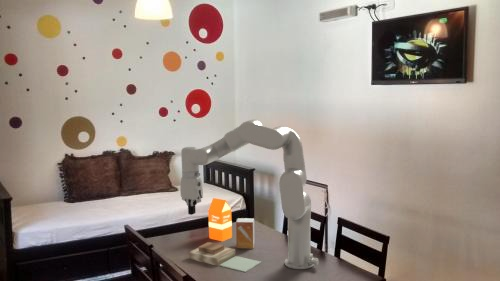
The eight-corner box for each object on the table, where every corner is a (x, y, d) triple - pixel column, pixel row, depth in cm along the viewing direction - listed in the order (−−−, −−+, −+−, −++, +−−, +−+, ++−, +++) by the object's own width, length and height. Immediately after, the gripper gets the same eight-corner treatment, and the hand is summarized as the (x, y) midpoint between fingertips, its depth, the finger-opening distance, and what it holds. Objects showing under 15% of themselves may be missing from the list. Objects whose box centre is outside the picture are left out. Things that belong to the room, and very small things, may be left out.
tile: (224, 249, 212) (224, 245, 211) (214, 254, 206) (214, 250, 206) (208, 246, 217) (208, 242, 216) (198, 251, 211) (198, 246, 211)
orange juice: (222, 241, 232) (221, 202, 229) (209, 238, 237) (207, 199, 234) (232, 237, 238) (231, 198, 235) (219, 233, 243) (217, 196, 241)
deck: (235, 256, 212) (235, 249, 212) (217, 265, 202) (217, 258, 201) (207, 249, 221) (207, 243, 221) (189, 258, 210) (189, 251, 210)
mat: (261, 262, 204) (261, 261, 204) (245, 272, 194) (245, 271, 194) (235, 256, 212) (235, 255, 212) (219, 265, 202) (219, 264, 202)
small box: (236, 248, 222) (235, 221, 220) (238, 244, 228) (237, 217, 226) (253, 248, 221) (253, 222, 219) (254, 244, 227) (254, 218, 225)
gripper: (208, 174, 212) (209, 214, 214) (183, 171, 220) (185, 209, 222) (197, 177, 205) (199, 218, 208) (172, 174, 214) (174, 213, 216)
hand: (191, 213), depth 215 cm, fingers closed
